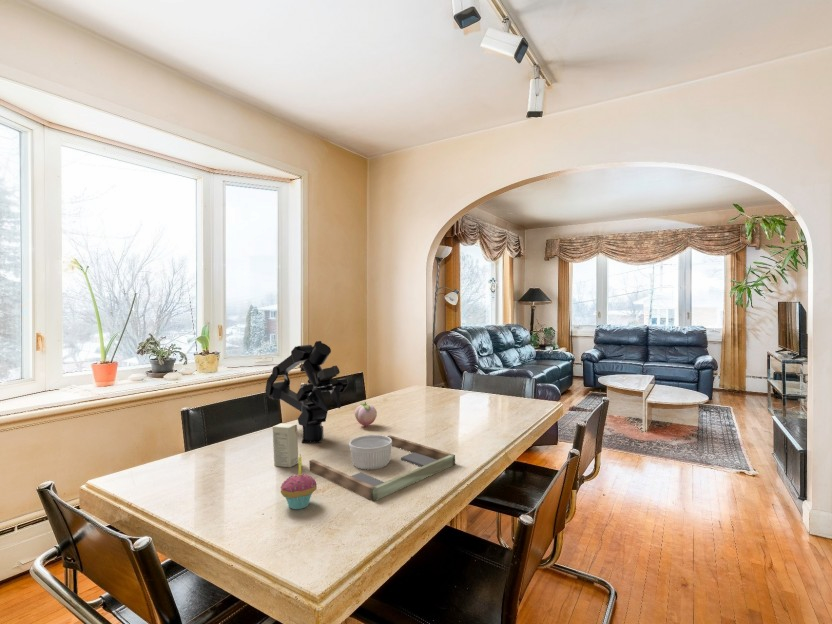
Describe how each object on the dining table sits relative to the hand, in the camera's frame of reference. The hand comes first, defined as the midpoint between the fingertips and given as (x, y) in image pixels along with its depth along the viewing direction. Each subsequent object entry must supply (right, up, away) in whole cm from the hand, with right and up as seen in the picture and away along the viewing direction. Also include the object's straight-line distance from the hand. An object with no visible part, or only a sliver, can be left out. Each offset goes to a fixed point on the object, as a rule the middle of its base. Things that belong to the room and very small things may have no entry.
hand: (333, 408), depth 144 cm
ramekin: (+14, -14, -13) cm, 24 cm away
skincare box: (-12, -14, -14) cm, 23 cm away
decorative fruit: (+8, -13, +26) cm, 30 cm away
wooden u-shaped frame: (+18, -14, -17) cm, 28 cm away
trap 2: (+29, -13, -12) cm, 34 cm away
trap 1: (+14, -14, -28) cm, 34 cm away
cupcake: (-1, -15, -40) cm, 43 cm away
